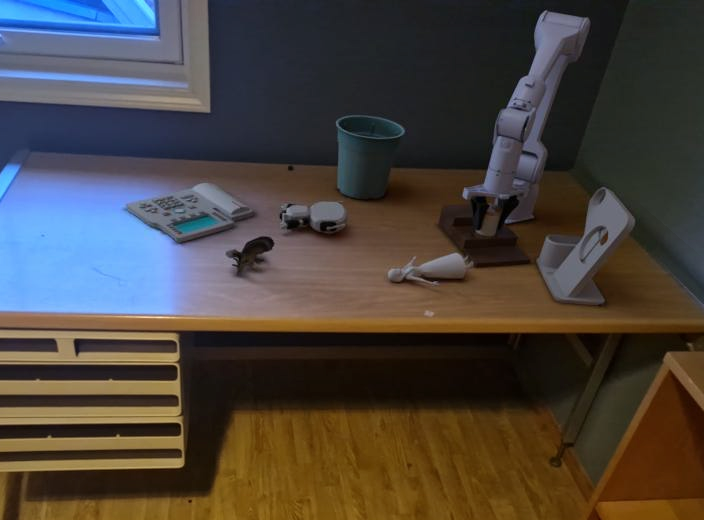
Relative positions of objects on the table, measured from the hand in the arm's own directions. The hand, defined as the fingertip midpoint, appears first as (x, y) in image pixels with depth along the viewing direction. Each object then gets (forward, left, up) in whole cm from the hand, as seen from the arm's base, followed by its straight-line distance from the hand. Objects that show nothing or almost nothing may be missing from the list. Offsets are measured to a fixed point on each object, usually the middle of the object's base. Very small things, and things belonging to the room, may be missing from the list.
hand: (486, 227), depth 145 cm
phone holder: (-6, +20, -4) cm, 21 cm away
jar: (0, 0, -1) cm, 1 cm away
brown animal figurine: (+53, -10, -4) cm, 54 cm away
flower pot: (+10, -34, -4) cm, 36 cm away
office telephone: (+54, -36, -4) cm, 65 cm away
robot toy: (+32, -21, -4) cm, 38 cm away
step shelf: (0, 0, -4) cm, 4 cm away
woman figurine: (+21, +7, -4) cm, 22 cm away
